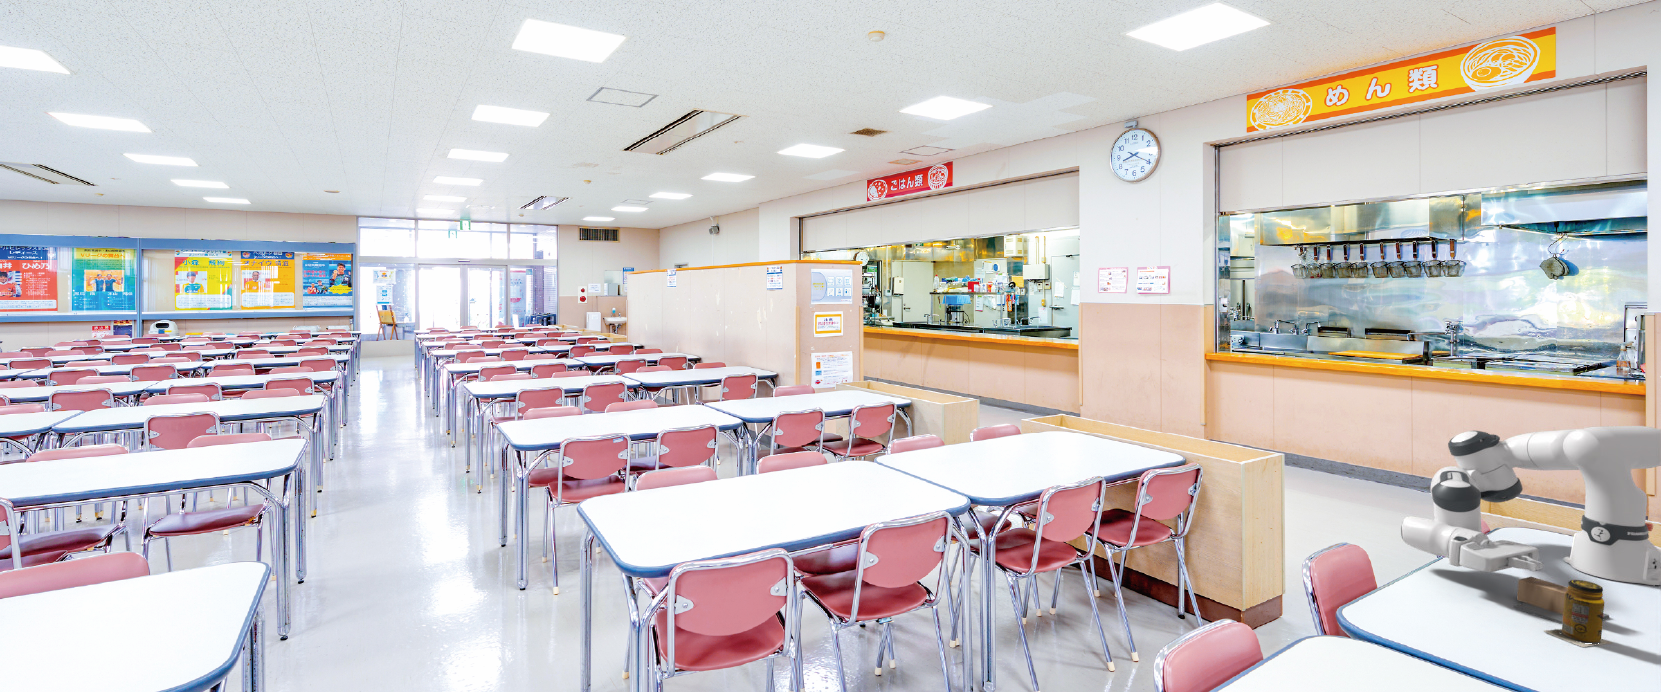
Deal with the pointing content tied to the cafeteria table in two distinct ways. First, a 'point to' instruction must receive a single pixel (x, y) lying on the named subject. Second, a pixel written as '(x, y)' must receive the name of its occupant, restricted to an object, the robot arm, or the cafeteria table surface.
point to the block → (1542, 594)
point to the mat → (1543, 612)
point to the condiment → (1582, 614)
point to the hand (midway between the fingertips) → (1539, 567)
